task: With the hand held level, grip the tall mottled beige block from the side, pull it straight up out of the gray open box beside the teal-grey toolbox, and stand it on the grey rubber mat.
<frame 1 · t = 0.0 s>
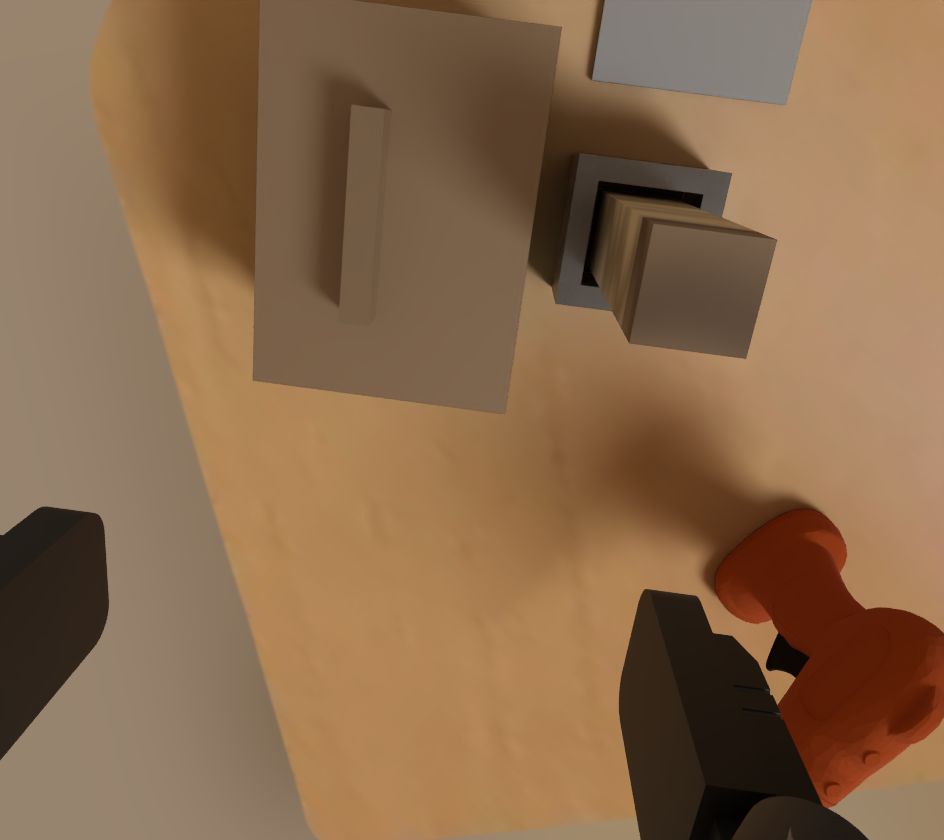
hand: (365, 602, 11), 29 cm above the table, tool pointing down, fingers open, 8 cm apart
mottled beige block: (655, 253, 30), in the gray open box
toolbox: (418, 202, 37), on the table
gray open box: (628, 230, 37), on the table
toy drill: (717, 608, 45), on the table
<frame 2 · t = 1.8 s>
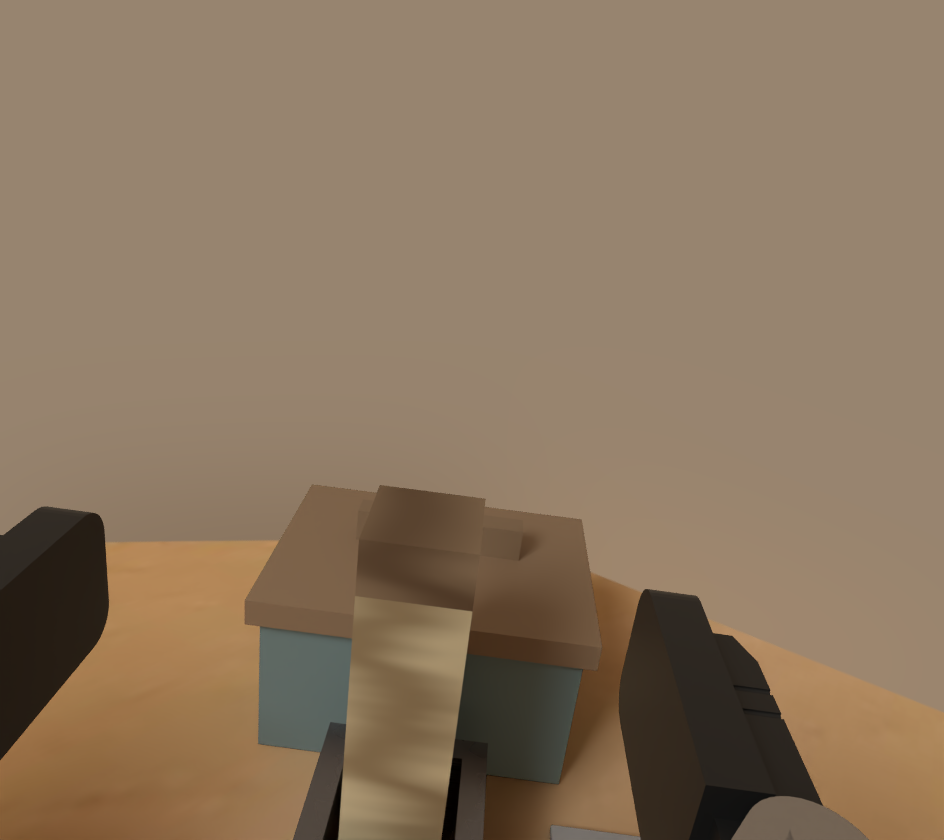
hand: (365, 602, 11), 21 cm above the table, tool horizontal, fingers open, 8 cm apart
mottled beige block: (405, 715, 27), in the gray open box
toolbox: (421, 689, 39), on the table
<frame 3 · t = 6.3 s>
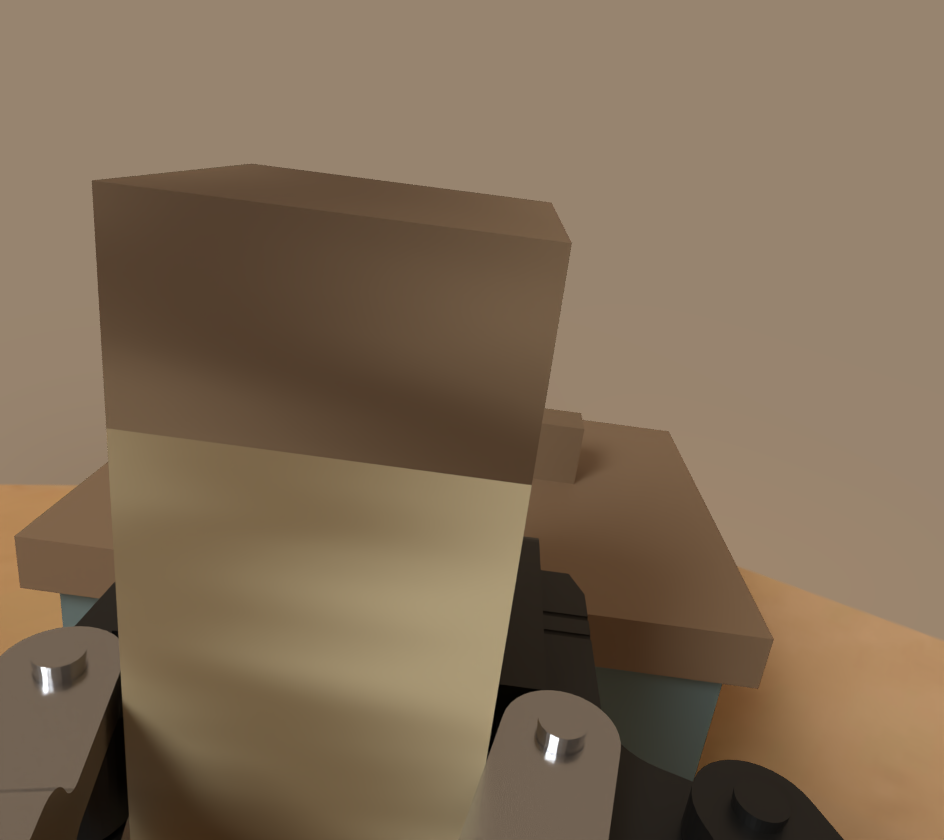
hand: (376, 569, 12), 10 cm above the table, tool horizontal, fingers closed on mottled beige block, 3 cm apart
mottled beige block: (330, 808, 10), in the gray open box, touching gripper
toolbox: (398, 714, 23), on the table
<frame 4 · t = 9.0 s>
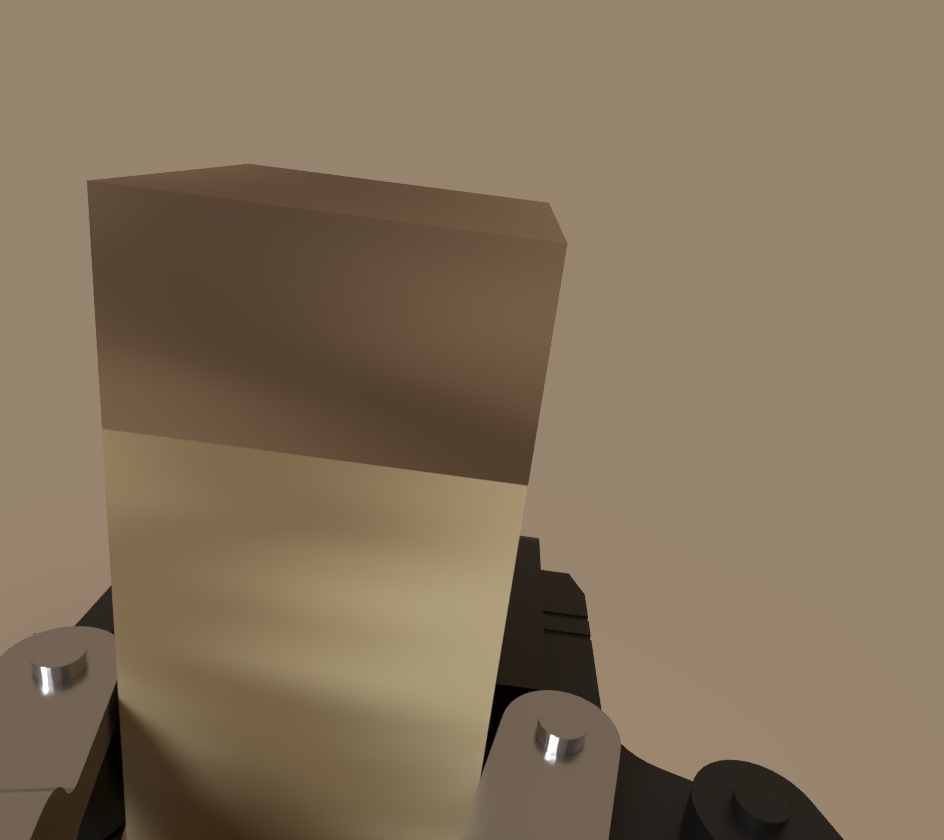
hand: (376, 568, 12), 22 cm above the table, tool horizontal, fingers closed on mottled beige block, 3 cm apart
mottled beige block: (328, 809, 10), point 20 cm above the table, touching gripper
when the fingers open (12 cm above the table, at t = 12.1 s): mottled beige block drops 1 cm, resting on rubber mat.
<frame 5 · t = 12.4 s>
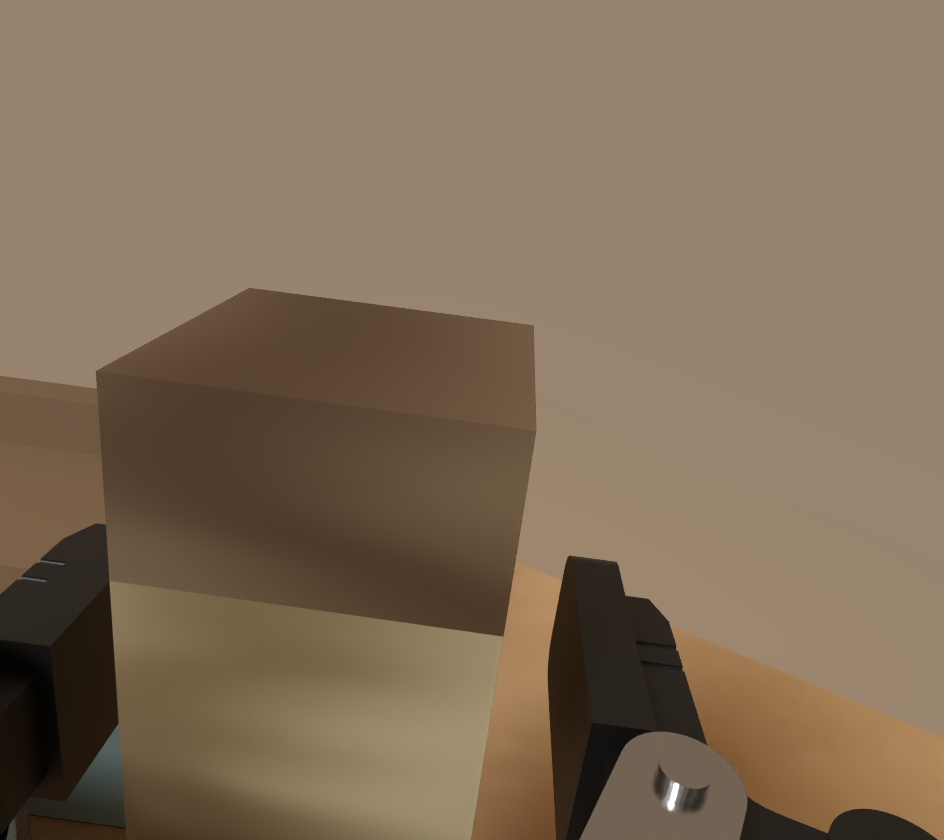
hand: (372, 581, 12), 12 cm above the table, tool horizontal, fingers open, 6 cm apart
toolbox: (69, 680, 25), on the table
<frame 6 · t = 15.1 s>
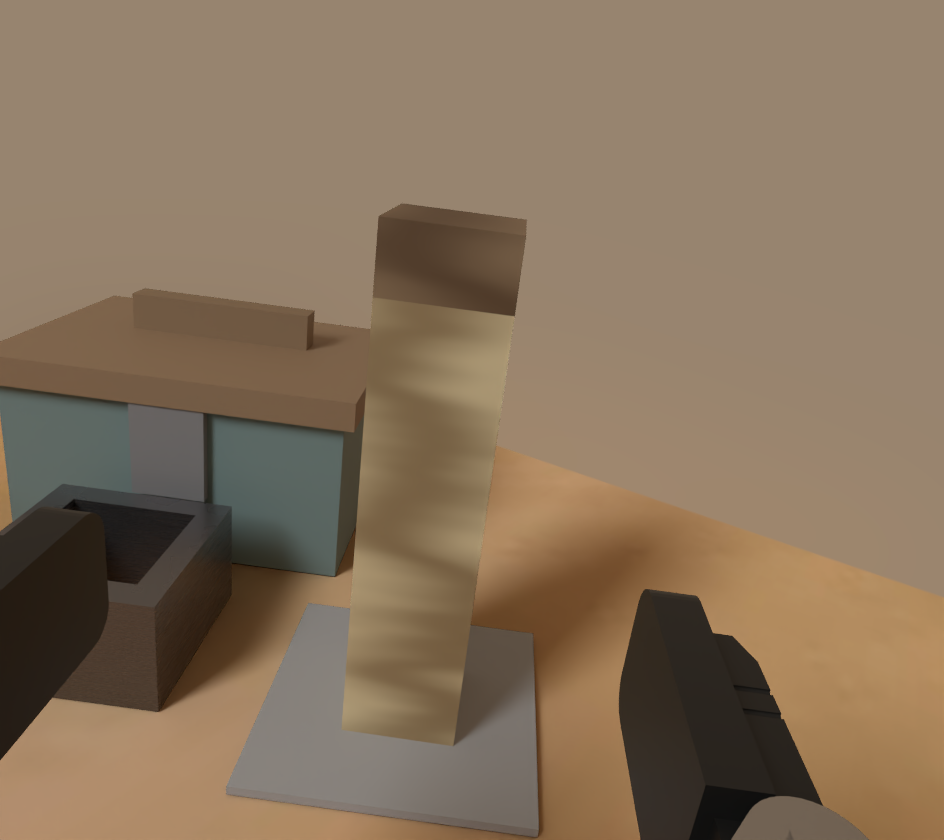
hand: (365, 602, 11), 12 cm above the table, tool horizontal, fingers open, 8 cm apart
mottled beige block: (428, 488, 23), resting on rubber mat
toolbox: (217, 501, 37), on the table
gray open box: (109, 634, 27), on the table
rubber mat: (403, 704, 26), on the table
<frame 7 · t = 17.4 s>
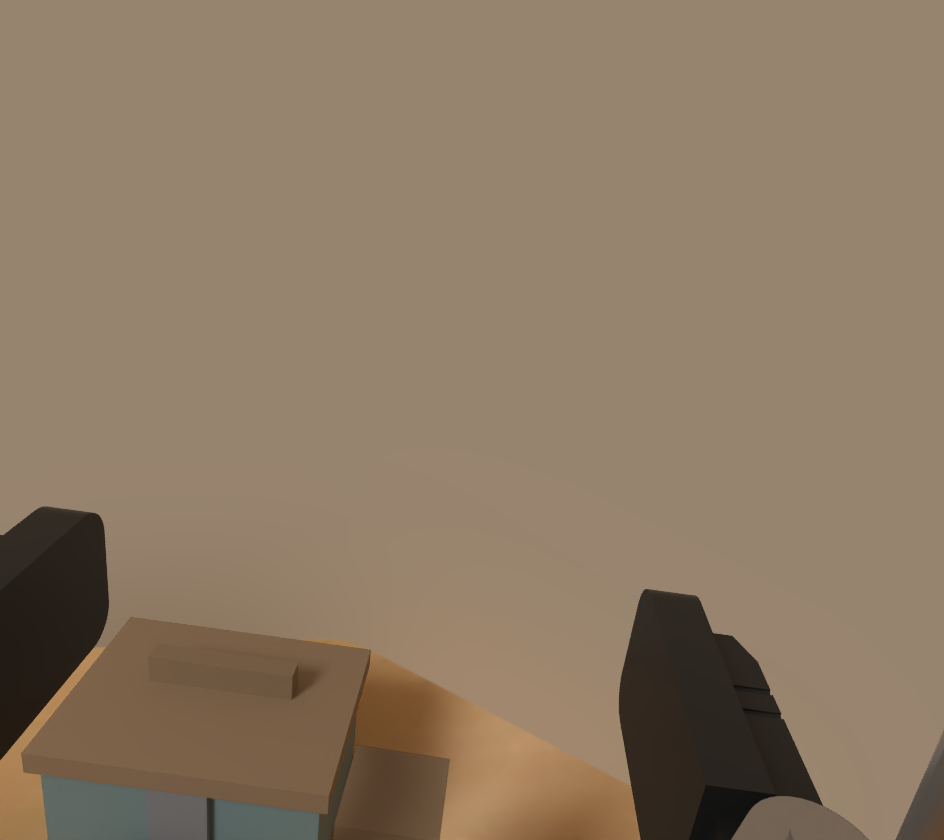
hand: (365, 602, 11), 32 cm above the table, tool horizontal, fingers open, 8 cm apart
toolbox: (217, 806, 44), on the table
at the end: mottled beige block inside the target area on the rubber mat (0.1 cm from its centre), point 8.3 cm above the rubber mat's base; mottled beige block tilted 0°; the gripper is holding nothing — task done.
